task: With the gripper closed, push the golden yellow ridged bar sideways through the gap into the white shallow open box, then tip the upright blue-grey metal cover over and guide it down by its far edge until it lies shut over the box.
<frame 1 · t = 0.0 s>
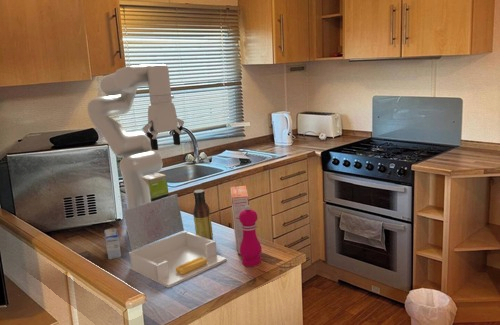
hand: (166, 147, 172), 37 cm above the countertop, tool pointing down, fingers open, 9 cm apart
cover: (154, 220, 165), point 13 cm above the countertop, hinge at 98.0°
golden yellow ridged bar: (192, 268, 155), point 1 cm above the countertop, touching white shallow open box
pepper mill: (251, 263, 158), on the countertop
cracker box: (243, 246, 172), on the countertop
white shallow open box: (176, 263, 161), on the countertop
medicine box: (114, 254, 173), on the countertop
tea box: (153, 204, 232), on the countertop
sauce bottle: (204, 241, 179), on the countertop
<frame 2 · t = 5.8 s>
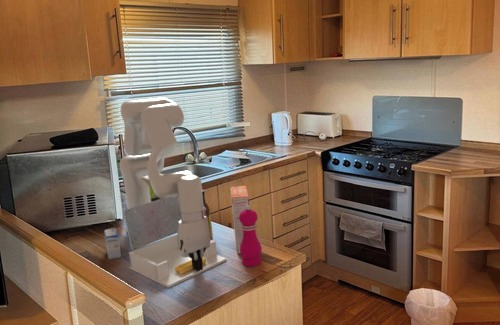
hand: (197, 269, 153), 1 cm above the countertop, tool pointing down, fingers closed
golden yellow ridged bar: (191, 267, 155), point 1 cm above the countertop, touching gripper
everything else where it was.
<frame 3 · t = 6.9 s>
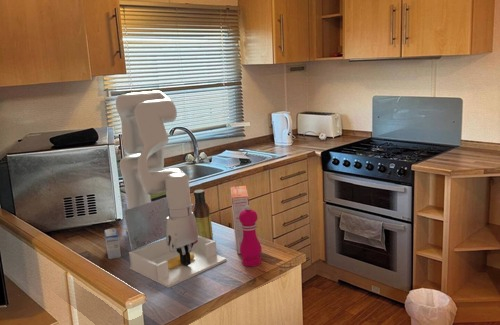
hand: (185, 263, 157), 1 cm above the countertop, tool pointing down, fingers closed
golden yellow ridged bar: (179, 263, 159), point 1 cm above the countertop, touching gripper
everything else where it was.
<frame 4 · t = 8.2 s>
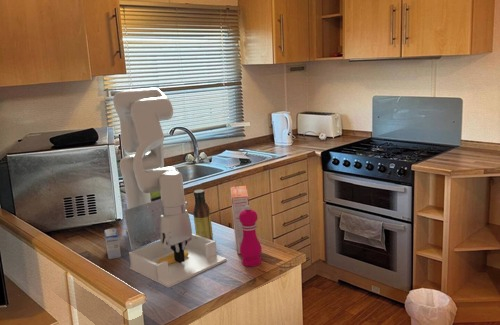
hand: (179, 261, 159), 2 cm above the countertop, tool pointing down, fingers closed
golden yellow ridged bar: (173, 260, 162), point 1 cm above the countertop, touching white shallow open box, gripper
everything else where it was.
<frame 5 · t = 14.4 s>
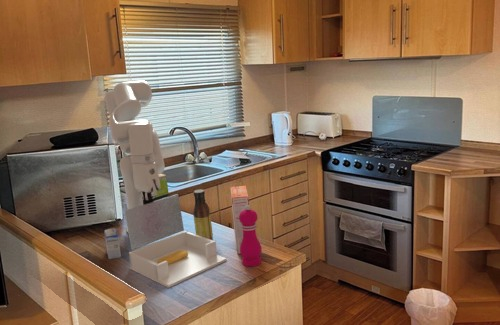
hand: (149, 209, 166), 17 cm above the countertop, tool pointing down, fingers closed
cover: (155, 221, 165), point 13 cm above the countertop, hinge at 94.6°, touching gripper
golden yellow ridged bar: (173, 260, 162), point 1 cm above the countertop, touching white shallow open box
everything else where it was.
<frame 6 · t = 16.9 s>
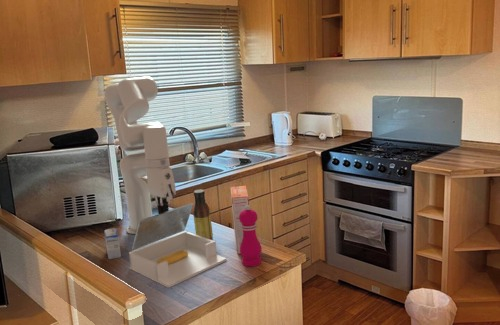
hand: (164, 215, 160), 16 cm above the countertop, tool pointing down, fingers closed
cover: (163, 225, 162), point 13 cm above the countertop, hinge at 58.2°, touching gripper
everything else where it was.
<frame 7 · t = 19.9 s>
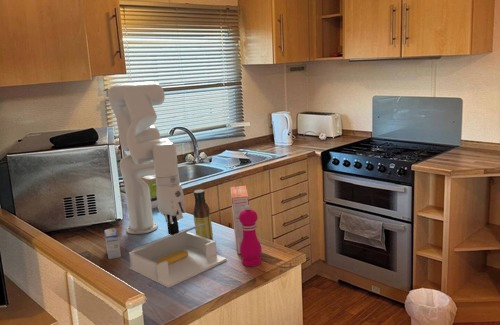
hand: (173, 233, 158), 11 cm above the countertop, tool pointing down, fingers closed
cover: (169, 236, 161), point 9 cm above the countertop, hinge at 22.7°, touching gripper
everything else where it was.
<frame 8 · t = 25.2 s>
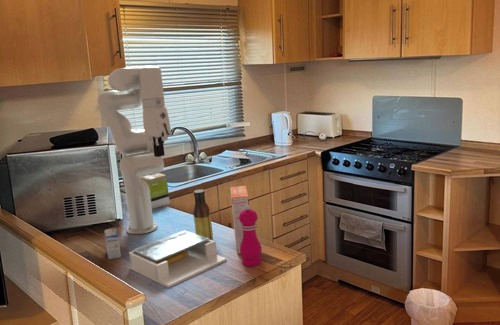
hand: (159, 155, 166), 35 cm above the countertop, tool pointing down, fingers closed
cover: (171, 244, 161), point 7 cm above the countertop, hinge at -0.1°
everything else where it was.
at the end: cover at +0° (first picture: +98°); golden yellow ridged bar inside the target area on the white shallow open box (0.2 cm from its centre), point 0.8 cm above the white shallow open box's base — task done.
